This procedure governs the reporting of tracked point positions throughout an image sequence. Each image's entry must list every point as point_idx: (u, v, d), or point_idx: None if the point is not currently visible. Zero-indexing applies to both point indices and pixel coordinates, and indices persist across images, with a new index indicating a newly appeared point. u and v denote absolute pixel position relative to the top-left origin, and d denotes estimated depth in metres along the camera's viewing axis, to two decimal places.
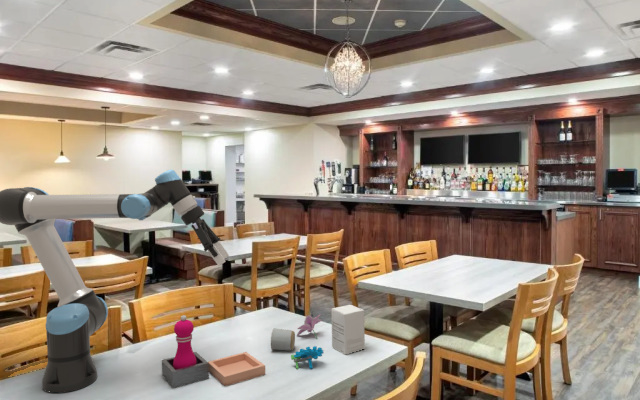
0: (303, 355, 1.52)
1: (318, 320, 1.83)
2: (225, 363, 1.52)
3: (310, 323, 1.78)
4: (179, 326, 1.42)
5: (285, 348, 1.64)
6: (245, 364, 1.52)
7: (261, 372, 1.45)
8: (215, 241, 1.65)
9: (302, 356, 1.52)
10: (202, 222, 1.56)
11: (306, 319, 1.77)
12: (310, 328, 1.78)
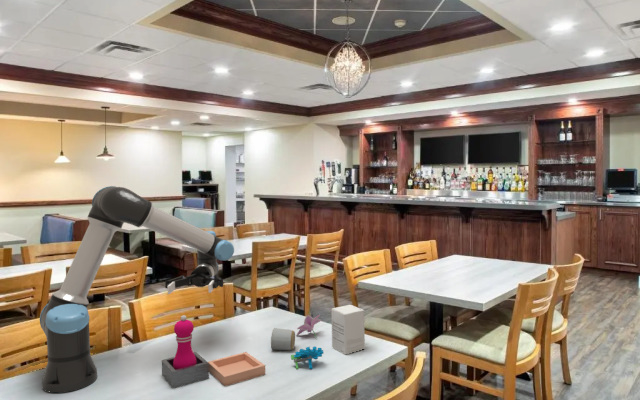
0: (303, 355, 1.52)
1: (318, 320, 1.83)
2: (225, 363, 1.52)
3: (310, 323, 1.78)
4: (179, 326, 1.42)
5: (285, 348, 1.64)
6: (245, 364, 1.52)
7: (261, 372, 1.45)
8: None
9: (302, 356, 1.52)
10: None
11: (306, 319, 1.77)
12: (310, 328, 1.78)
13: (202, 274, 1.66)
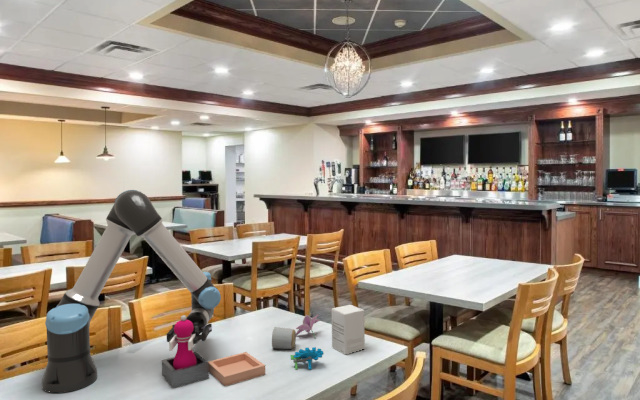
0: (303, 356, 1.51)
1: (316, 320, 1.83)
2: (225, 363, 1.52)
3: (308, 323, 1.79)
4: (179, 326, 1.42)
5: (286, 346, 1.65)
6: (245, 364, 1.52)
7: (261, 372, 1.45)
8: None
9: (302, 357, 1.52)
10: None
11: (304, 319, 1.77)
12: (308, 328, 1.78)
13: (195, 323, 1.55)
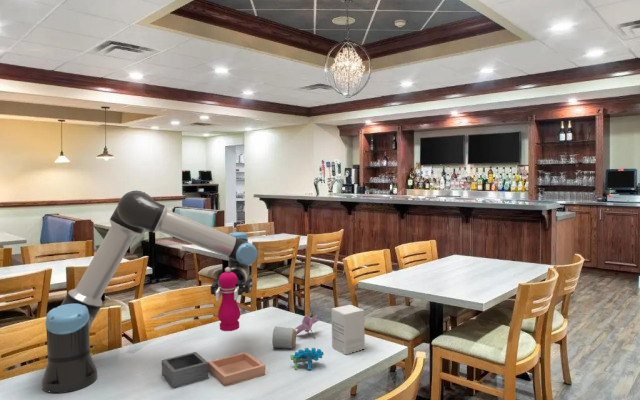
0: (302, 356, 1.51)
1: (315, 320, 1.83)
2: (225, 363, 1.52)
3: (308, 323, 1.79)
4: (224, 277, 1.43)
5: (286, 346, 1.66)
6: (245, 364, 1.52)
7: (261, 372, 1.45)
8: None
9: (302, 357, 1.52)
10: None
11: (304, 319, 1.77)
12: (308, 328, 1.79)
13: None
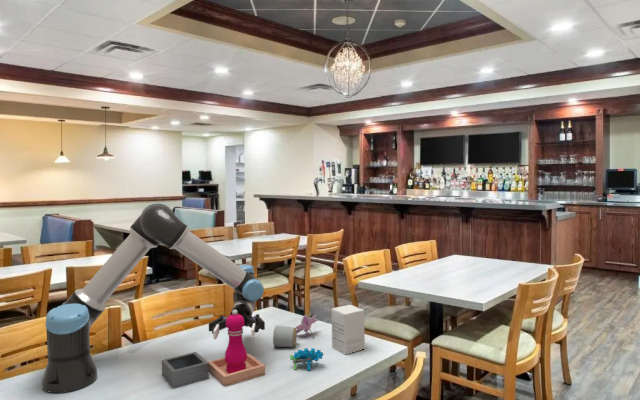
0: (302, 356, 1.51)
1: (314, 320, 1.84)
2: (225, 363, 1.52)
3: (307, 323, 1.79)
4: (231, 320, 1.44)
5: (287, 345, 1.67)
6: None
7: (261, 372, 1.45)
8: None
9: (301, 357, 1.51)
10: None
11: (303, 319, 1.77)
12: (307, 328, 1.79)
13: (243, 314, 1.57)
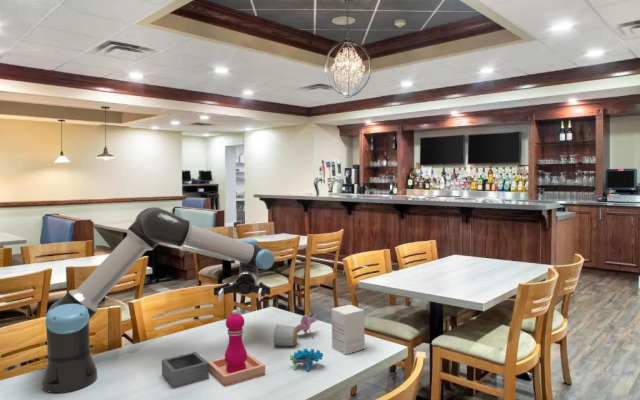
0: (302, 357, 1.51)
1: (314, 320, 1.84)
2: (225, 363, 1.52)
3: (306, 323, 1.79)
4: (231, 320, 1.44)
5: (288, 344, 1.68)
6: None
7: (261, 372, 1.45)
8: None
9: (301, 357, 1.51)
10: None
11: (302, 319, 1.77)
12: (306, 328, 1.79)
13: (248, 282, 1.69)
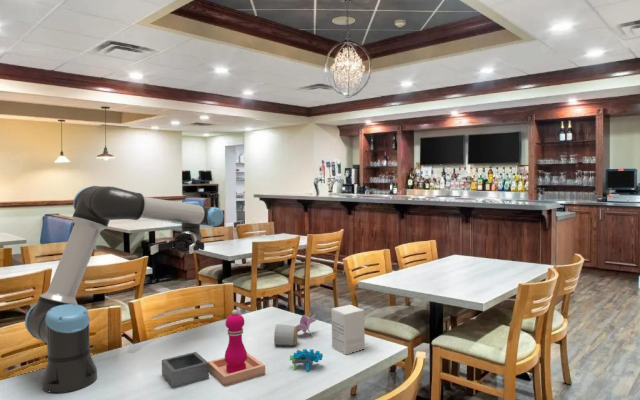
0: (301, 357, 1.50)
1: (313, 320, 1.84)
2: (225, 363, 1.52)
3: (305, 323, 1.79)
4: (231, 320, 1.44)
5: (288, 343, 1.68)
6: None
7: (261, 372, 1.45)
8: None
9: (301, 358, 1.51)
10: None
11: (302, 319, 1.77)
12: (305, 328, 1.79)
13: (185, 239, 1.75)
